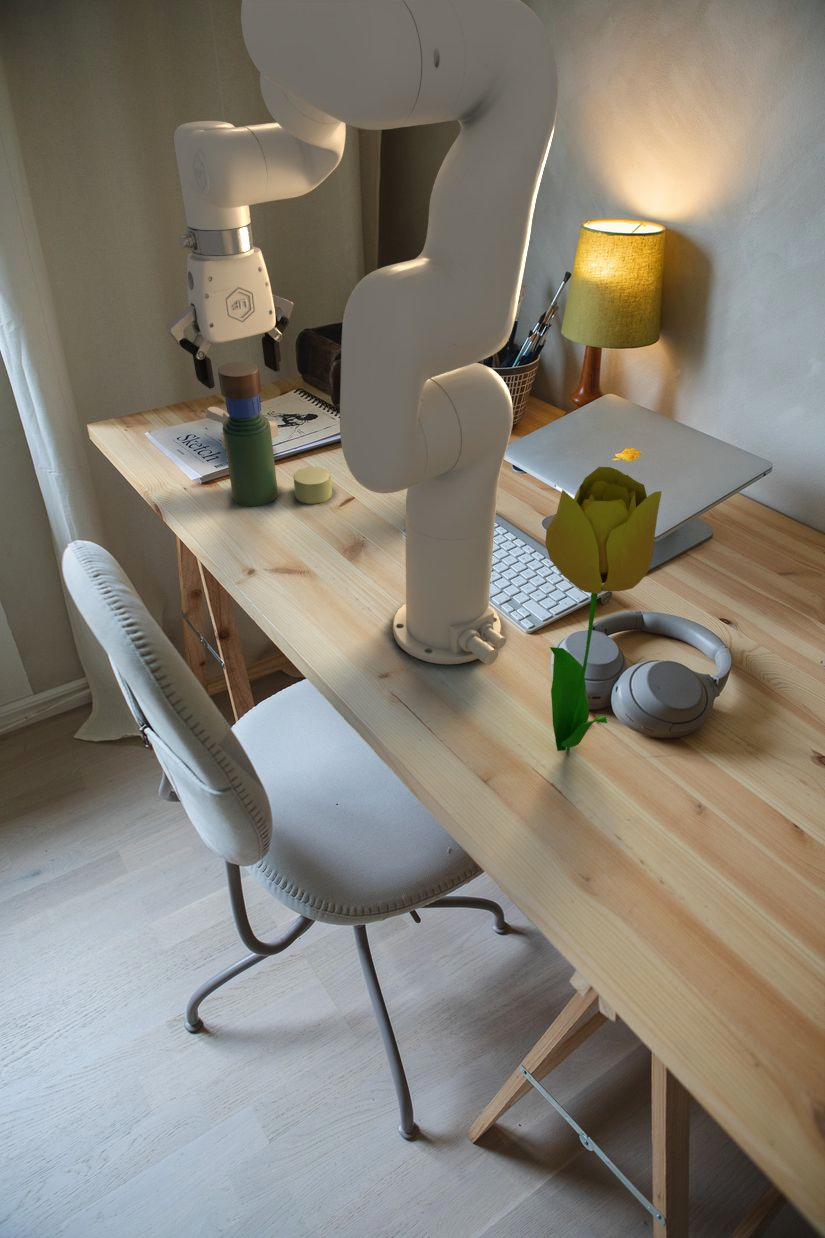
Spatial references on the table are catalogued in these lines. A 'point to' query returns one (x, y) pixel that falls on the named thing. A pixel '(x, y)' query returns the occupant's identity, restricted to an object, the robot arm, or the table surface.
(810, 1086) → the table surface
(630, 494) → the flower
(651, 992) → the table surface
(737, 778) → the table surface
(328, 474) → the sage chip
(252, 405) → the cap
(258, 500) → the bottle
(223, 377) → the brown wooden puck
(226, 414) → the bunny figurine
